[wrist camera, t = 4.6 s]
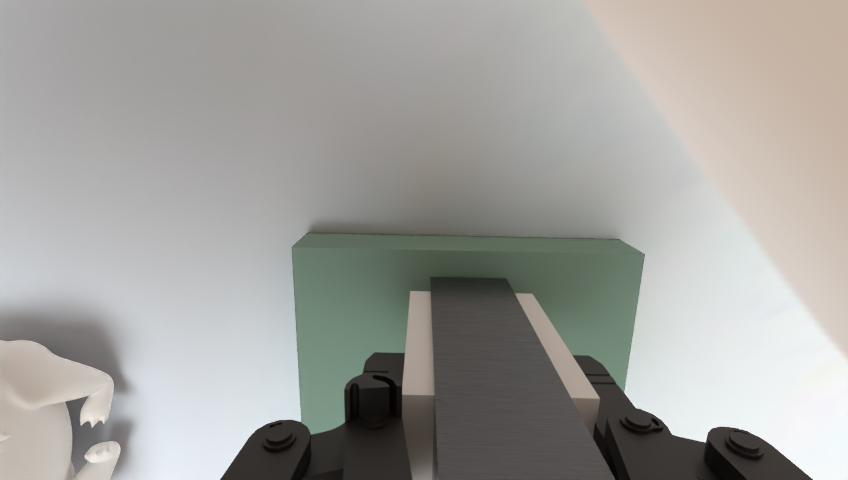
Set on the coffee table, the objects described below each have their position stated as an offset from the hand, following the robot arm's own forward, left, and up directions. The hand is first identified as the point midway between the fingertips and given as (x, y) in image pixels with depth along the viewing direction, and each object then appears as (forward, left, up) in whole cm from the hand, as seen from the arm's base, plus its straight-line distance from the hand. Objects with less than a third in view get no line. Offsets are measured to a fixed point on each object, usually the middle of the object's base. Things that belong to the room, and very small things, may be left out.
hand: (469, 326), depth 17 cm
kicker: (+4, 0, -1) cm, 4 cm away
